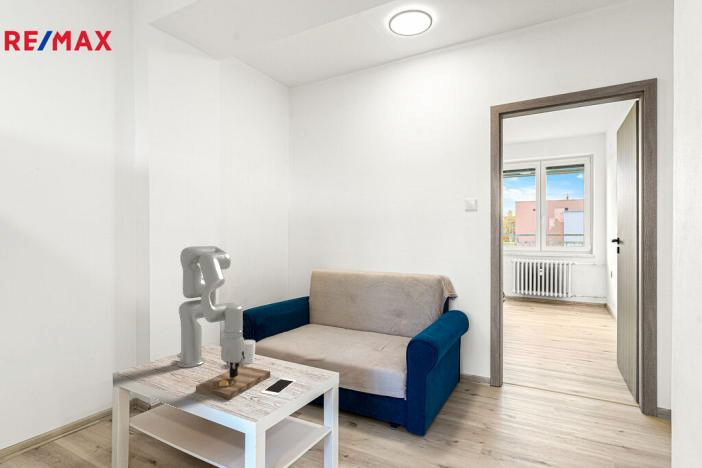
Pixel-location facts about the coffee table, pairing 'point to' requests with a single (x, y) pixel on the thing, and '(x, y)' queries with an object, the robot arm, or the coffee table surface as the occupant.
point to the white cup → (249, 351)
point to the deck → (233, 382)
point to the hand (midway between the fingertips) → (233, 376)
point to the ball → (223, 383)
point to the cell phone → (278, 386)
